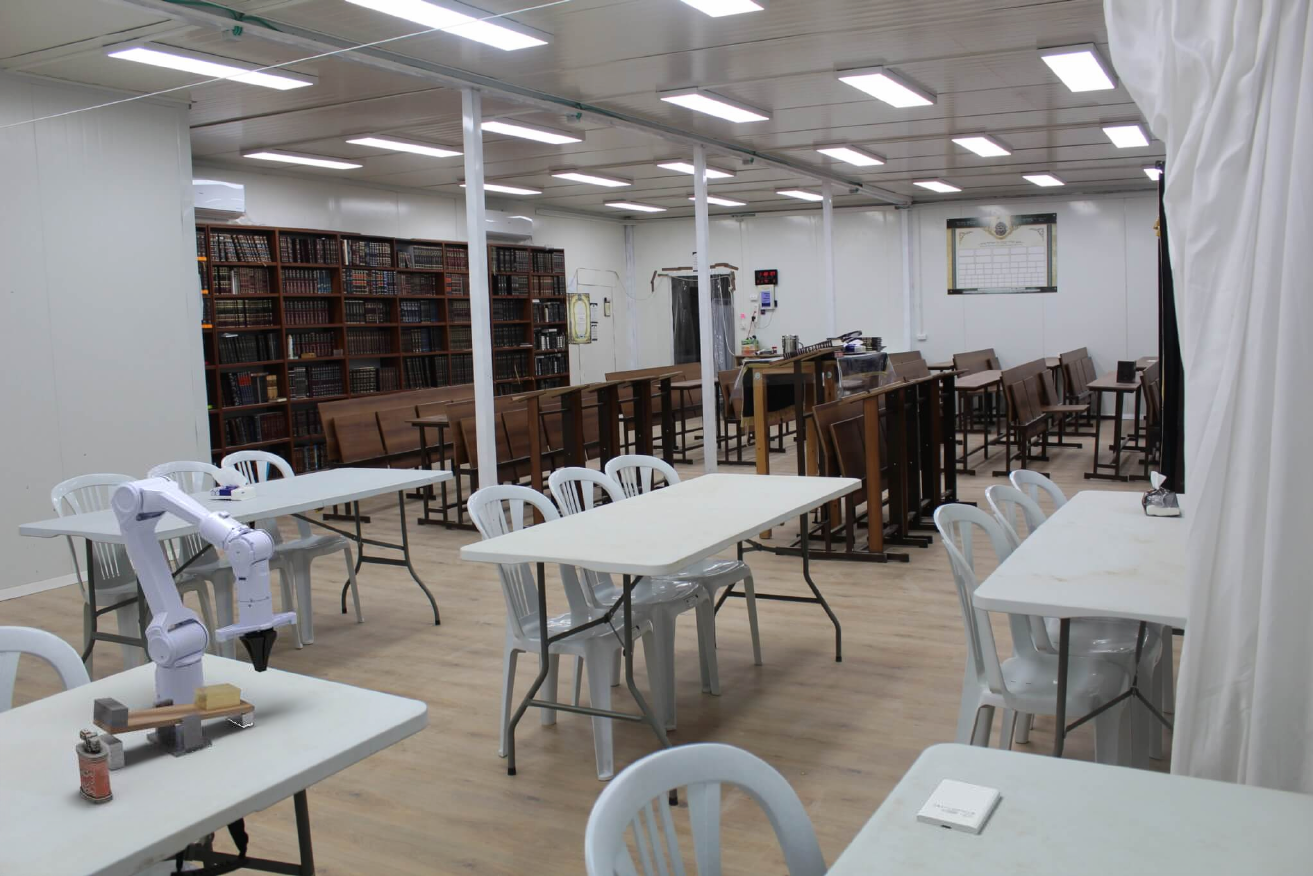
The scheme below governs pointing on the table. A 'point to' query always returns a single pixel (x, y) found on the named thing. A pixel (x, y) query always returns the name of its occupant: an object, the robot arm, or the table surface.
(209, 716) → the beam
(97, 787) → the lighter
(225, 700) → the block
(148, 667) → the table surface
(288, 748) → the table surface
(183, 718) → the stand
